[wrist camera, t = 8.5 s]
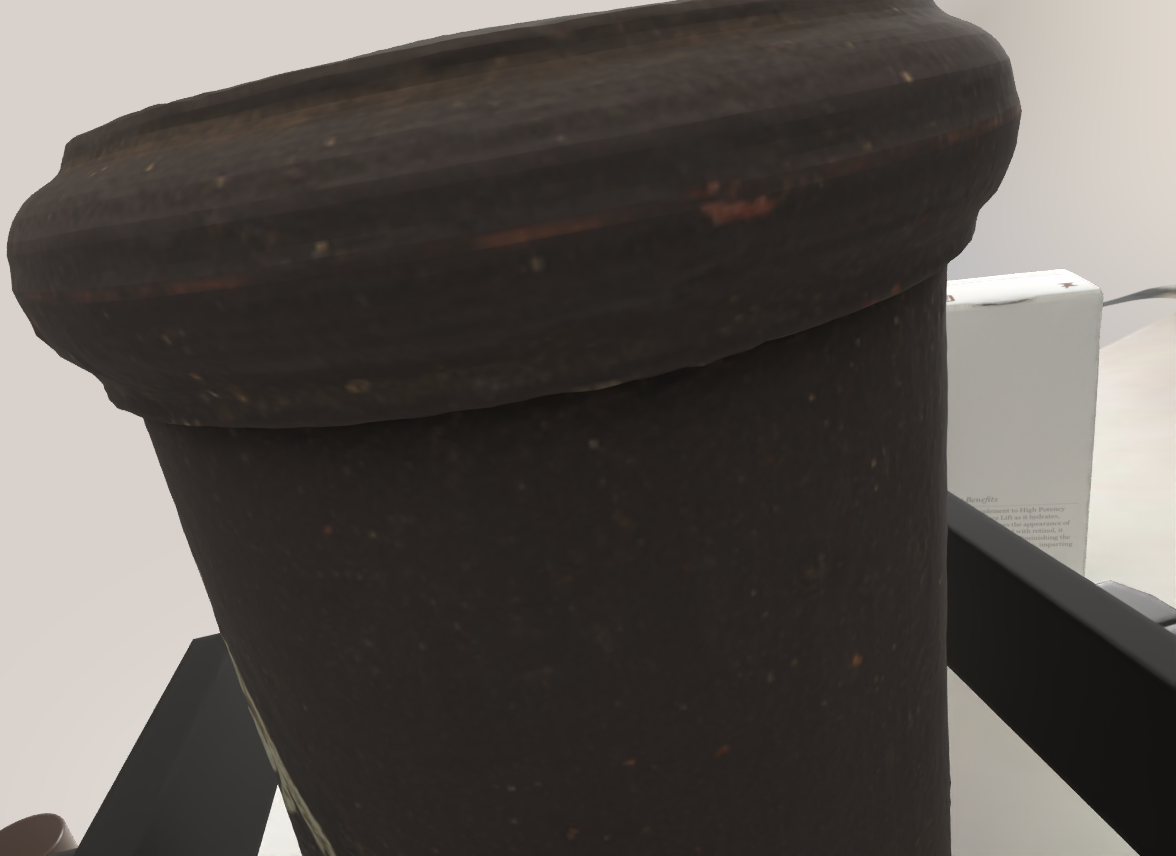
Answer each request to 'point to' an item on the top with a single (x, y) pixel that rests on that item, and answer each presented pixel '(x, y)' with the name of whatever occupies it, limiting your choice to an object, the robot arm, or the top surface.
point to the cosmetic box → (1025, 403)
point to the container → (561, 415)
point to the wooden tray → (36, 836)
